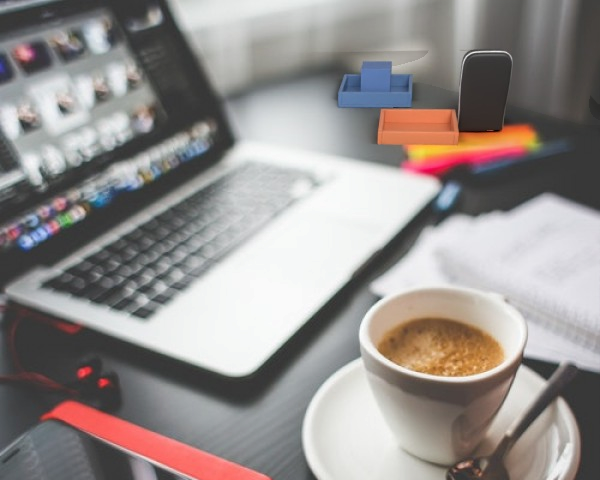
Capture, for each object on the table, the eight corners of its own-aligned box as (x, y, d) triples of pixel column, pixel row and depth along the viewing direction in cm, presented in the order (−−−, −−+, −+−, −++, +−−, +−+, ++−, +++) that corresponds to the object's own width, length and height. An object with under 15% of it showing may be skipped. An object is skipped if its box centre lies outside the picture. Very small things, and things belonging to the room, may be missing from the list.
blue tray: (411, 88, 113) (412, 74, 112) (411, 107, 104) (412, 92, 103) (344, 88, 115) (344, 74, 114) (338, 107, 106) (338, 92, 105)
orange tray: (453, 125, 97) (455, 109, 95) (457, 149, 88) (459, 132, 87) (380, 124, 98) (381, 108, 97) (377, 148, 90) (377, 131, 89)
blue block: (390, 90, 111) (391, 61, 108) (389, 99, 107) (390, 68, 104) (362, 90, 112) (362, 61, 109) (360, 98, 108) (360, 68, 105)
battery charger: (499, 124, 96) (511, 45, 90) (503, 132, 93) (515, 52, 87) (453, 124, 97) (461, 46, 90) (455, 133, 94) (464, 53, 87)
